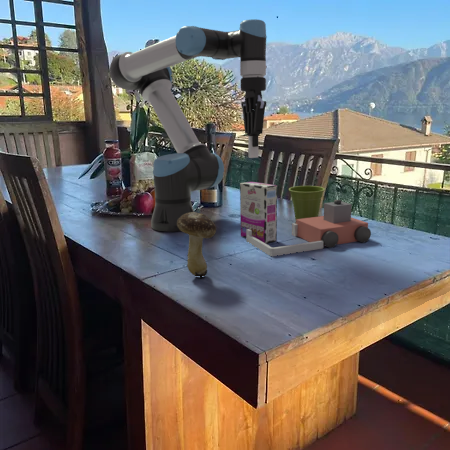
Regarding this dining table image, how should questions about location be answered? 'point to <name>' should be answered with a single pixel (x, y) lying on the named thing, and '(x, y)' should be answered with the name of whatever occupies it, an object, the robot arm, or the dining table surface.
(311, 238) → the toy tractor
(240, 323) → the dining table surface
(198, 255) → the mushroom
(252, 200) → the candy bar box
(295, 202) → the plant pot
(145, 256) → the dining table surface
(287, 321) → the dining table surface
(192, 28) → the robot arm
